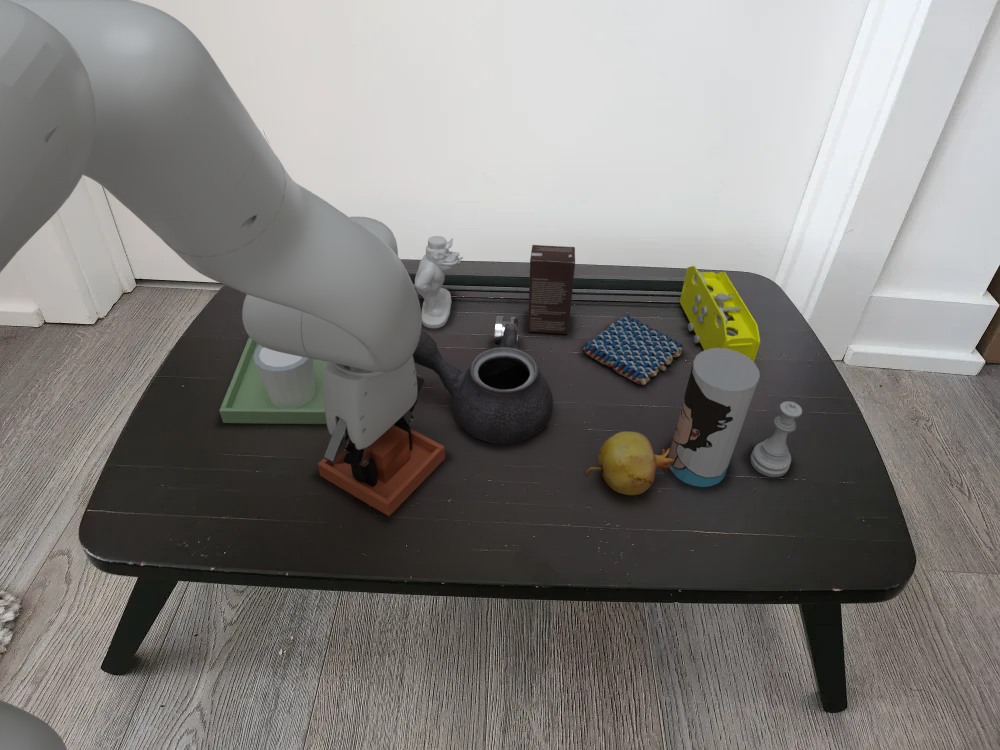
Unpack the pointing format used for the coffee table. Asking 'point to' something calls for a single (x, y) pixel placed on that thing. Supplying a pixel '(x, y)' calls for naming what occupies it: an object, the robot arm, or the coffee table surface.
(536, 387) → the teapot
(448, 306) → the figurine
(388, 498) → the terracotta tray
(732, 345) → the yellow toy chassis
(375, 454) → the block
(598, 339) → the woven mat
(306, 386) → the grey tapered cup
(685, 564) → the coffee table surface
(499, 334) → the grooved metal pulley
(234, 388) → the sage tray
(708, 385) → the grey printed cylindrical canister
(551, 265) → the box
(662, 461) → the fruit
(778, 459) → the chess piece
